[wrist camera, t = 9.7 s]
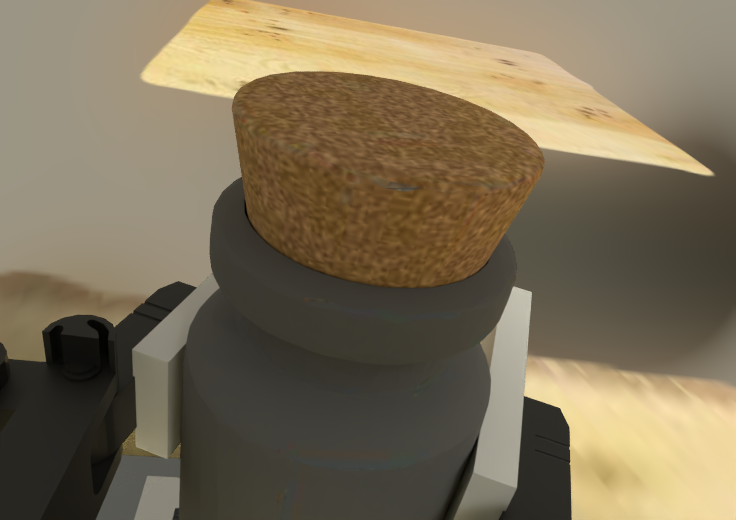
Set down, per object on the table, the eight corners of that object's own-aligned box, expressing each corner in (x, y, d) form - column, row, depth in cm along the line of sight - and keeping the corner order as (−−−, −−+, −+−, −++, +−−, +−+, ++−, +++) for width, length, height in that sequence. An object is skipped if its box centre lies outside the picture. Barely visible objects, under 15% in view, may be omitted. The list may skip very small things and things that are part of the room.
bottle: (377, 535, 19) (520, 91, 12) (394, 755, 14) (663, 237, 7) (197, 525, 19) (223, 39, 11) (150, 755, 14) (135, 162, 6)
